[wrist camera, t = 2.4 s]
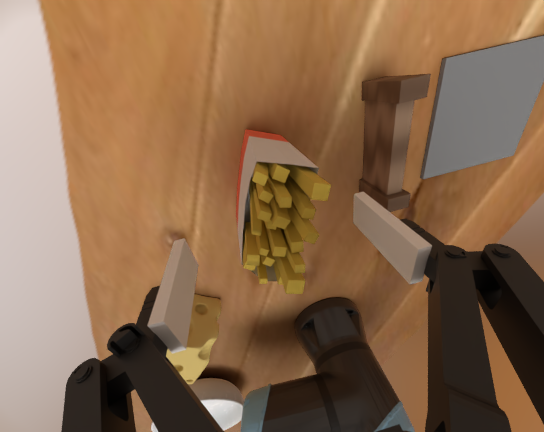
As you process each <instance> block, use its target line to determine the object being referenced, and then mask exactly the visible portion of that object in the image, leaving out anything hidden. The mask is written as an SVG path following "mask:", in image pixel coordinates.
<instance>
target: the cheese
mask: <svg viewBox="0 0 544 432" xmlns="http://www.w3.org/2000/svg"><path fill="white" fill-rule="evenodd" d="M220 313H221V302H220V299H217V298H212V297H205V296H201V295H197V294H194V299H193V306H192V313H191V320H190V327H189V334H188V341H187V348H186V350H183V351H180V352H176V353H173V354H172V353H171V352H170V350H169V349H167V354H166V357H167V358H168V359H169V360H170V362H171V363H172V364H173V366H174V367H175V368H176V370H177V371H178V372H179V373H180V375H181V376H182V377H183V379H184V380H185V381H186V383H187V384H193V383H194V382H195V381H196V379H197V378H198V377H199V376H200V374H201V373H202V371H203V370H204V369H205V367H206V366H207V364H208V362H209V359H210V351H211V347H212V345H213V343H214V342H215V341H216V339H217V336H218V332H219V324H218V323H217V320H218V317H219V316H220Z"/></svg>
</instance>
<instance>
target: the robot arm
mask: <svg viewBox="0 0 544 432" xmlns="http://www.w3.org/2000/svg"><path fill="white" fill-rule="evenodd" d="M353 223H354V224H355V225H356V226H357V228H358V229H359V230H360V231H361V232H362V233H363V234H364V235H365V236H366V237H367V238H368V239H369V241H370V242H371V243H372V244H373V245H374V246H375V247H376V248H377V249H378V250H379V251H380V253H381V254H382V255H383V256H384V257H385V258H386V259H387V260H388V261H389V262H390V263H391V265H392V266H393V267H394V268H395V269H396V270H397V271H398V272H399V273H400V274H401V275H402V277H403V278H404V279H405V280H406V281H407V282H408V283H409V284H414V283H417V282H420V281H422V280H423V276H424V274H425V275H426V276H427V277H428V278H429V282H428V285H427V288H426V291H427V292H428V413H427V419H426V427H425V432H511V428H510V424H509V420H508V418H507V416H506V414H505V412H504V411H503V410H501V409H500V408H499V406H498V404H497V400H496V395H495V389H494V384H493V379H492V373H491V368H490V363H489V358H488V352H487V347H486V342H485V336H484V330H483V325H482V320H481V315H480V309H479V304H478V301H479V303H480V305H481V307H482V309H483V311H484V313H485V315H486V317H487V318H488V320H489V322H490V324H491V326H492V328H493V329H494V332H495V333H496V335H497V337H498V339H499V341H500V343H501V344H502V347H503V348H504V350H505V352H506V354H507V356H508V358H509V360H510V362H511V363H512V365H513V367H514V369H515V371H516V373H517V375H518V377H519V379H520V380H521V382H522V384H523V386H524V388H525V390H526V392H527V394H528V395H529V397H530V399H531V401H532V403H533V405H534V407H535V409H536V411H537V412H538V414H539V416H540V418H541V420H542V422H543V424H544V282H543V281H542V279H541V278H540V277H539V276H538V275H537V274H536V272H535V271H534V270H533V269H532V268H531V267H530V266H529V265H528V263H527V262H526V261H525V260H524V259H523V257H522V256H521V255H520V254H519V253H518V252H517V251H516V250H514V249H512V248H510V247H508V246H505V245H501V244H488V245H486V246H485V248H484V250H483V251H476V252H466V251H465V250H464V249H462V248H459V247H456V246H453V245H444V244H443V243H442V242H440V241H439V240H438V239H436V238H435V237H433V236H432V235H431V234H429V233H428V232H427V231H425V230H424V229H423V228H420V226H419V225H417V224H416V223H414V222H413V221H410V220H408V219H401V220H399V219H398V218H396V217H395V216H394V215H393V214H391V213H390V212H389V211H388V210H386V209H385V208H384V207H382V206H381V205H380V204H379V203H377V202H376V201H375V200H373V199H372V198H371V197H370V196H368V195H367V194H366V193H365V192H360V193H356V194H354V212H353ZM197 271H198V263H197V261H196V259H195V257H194V255H193V253H192V251H191V250H190V248H189V246H188V244H187V242H186V240H185V238H184V239H180V240H176V241H174V244H173V247H172V250H171V253H170V256H169V259H168V262H167V266H166V269H165V272H164V275H163V278H162V281H161V285H160V286H157V287H154V288H152V289H151V290H150V292H149V293H148V294H147V296H146V299H145V301H144V305H143V307H142V309H141V310H142V311H141V312H140V315H139V318H138V320H137V323H136V324H134V323H128V324H126V325H123V326H122V327H120V328H119V329H117V330H116V331H115V332H114V333H113V334H112V336H111V337H110V339H109V341H108V344H107V347H108V350H109V351H111V352H112V353H113V355H111V356H109V357H108V358H106V359H104V360H102V361H100V360H98V359H96V358H92V359H88V360H87V361H85V362H83V363H82V364H80V365H79V366H78V367H77V368H76V369H75V370H74V371H73V372H72V374H71V375H70V377H69V379H68V381H67V384H66V392H65V403H64V412H63V423H62V432H136V429H135V421H134V414H133V406H132V399H131V391H133V390H134V389H135V390H136V391H137V393H138V395H139V397H140V399H141V401H142V402H143V404H144V406H145V408H146V410H147V412H148V413H149V415H150V417H151V419H152V421H153V423H154V424H155V426H156V428H157V430H158V432H224V431H223V430H222V428H221V427H220V426H219V424H218V423H217V422H216V420H215V419H214V418H213V417H212V415H211V414H210V413H209V411H208V410H207V409H206V407H205V406H204V405H203V403H202V402H201V401H200V400H199V398H198V397H197V396H196V394H195V393H194V392H193V390H192V389H191V388H190V386H189V385H188V384H187V383H186V381H185V380H184V379H183V377H182V376H181V375H180V373H179V372H178V371H177V370H176V368H175V367H174V366H173V364H172V363H171V362H170V360H169V359H168V358H167V357H166V354H167V349H169V350H170V352H171V353H172V354H173V353H176V352H180V351H183V350H186V348H187V341H188V334H189V327H190V320H191V313H192V306H193V299H194V292H195V285H196V278H197ZM294 328H295V332H296V336H297V339H298V341H299V343H300V344H301V346H302V347H303V349H304V350H305V352H306V353H307V355H308V356H309V358H310V359H311V361H312V362H313V364H314V367H315V370H316V373H317V374H315V375H311V376H307V377H303V378H299V379H295V380H290V381H286V382H282V383H278V384H274V385H271V384H269V385H268V386H266V387H262V388H259V389H256V390H253V391H251V392H250V393H249V394H248V395H247V396H246V398H245V400H244V404H243V410H242V420H241V432H415V431H414V428H413V426H412V424H411V422H410V420H409V418H408V416H407V414H406V412H405V410H404V408H403V404H402V402H401V401H400V400H399V398H398V397H397V395H396V393H395V391H394V389H393V388H392V386H391V384H390V382H389V381H388V379H387V377H386V375H385V374H384V372H383V370H382V368H381V366H380V365H379V363H378V361H377V359H376V358H375V356H374V354H373V352H372V351H371V349H370V347H369V345H368V343H367V340H366V336H365V331H364V327H363V323H362V318H361V315H360V313H359V311H358V309H357V307H356V306H355V304H354V303H353V302H352V301H350V300H348V299H344V298H330V299H326V300H322V301H319V302H317V303H315V304H313V305H311V306H309V307H308V308H306V309H305V310H304V311H303V312H302V313H301V314H300V315H299V316H298V318H297V319H296V322H295V326H294Z"/></svg>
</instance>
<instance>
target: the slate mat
mask: <svg viewBox="0 0 544 432" xmlns="http://www.w3.org/2000/svg"><path fill="white" fill-rule="evenodd" d="M543 81H544V35H543V36H539V37H534V38H530V39H526V40H521V41H517V42H513V43H509V44H504V45H500V46H496V47H491V48H487V49H483V50H478V51H474V52H470V53H465V54H461V55H457V56H452V57H448V58H444V59H442V64H441V69H440V75H439V80H438V85H437V91H436V96H435V101H434V107H433V112H432V118H431V123H430V128H429V134H428V139H427V144H426V150H425V155H424V161H423V166H422V171H421V177H420V178H421V179H426V178H430V177H434V176H437V175H441V174H445V173H449V172H452V171H456V170H460V169H464V168H468V167H471V166H475V165H479V164H483V163H487V162H490V161H494V160H498V159H502V158H505V157H509V156H513V155H514V153H515V150H516V148H517V145H518V143H519V140H520V138H521V135H522V133H523V131H524V128H525V126H526V123H527V121H528V118H529V116H530V113H531V111H532V108H533V106H534V104H535V101H536V99H537V96H538V94H539V91H540V89H541V86H542V84H543Z"/></svg>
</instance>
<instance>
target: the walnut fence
mask: <svg viewBox="0 0 544 432" xmlns="http://www.w3.org/2000/svg"><path fill="white" fill-rule="evenodd" d="M430 75H431V74H420V75H405V76H389V77H382V78H378V79H373V80H369V81H365V82H362V100H364V101H365V128H364V156H363V179H360V185H359V191H360V192H365V193H366V194H367V195H368V196H370V197H371V198H372V199H373V200H375V201H376V202H377V203H379V204H380V205H381V206H382V207H384V208H385V209H386V210H388V211H389V212H392V211H395V210H399V209H403V208H407V207H408V206H409V200H410V193H409V192H407V191H405V190H403V189H402V185H403V178H404V171H405V164H406V156H407V149H408V142H409V135H410V128H411V121H412V114H413V107H414V100H417V99H421V98H425V97H427V93H428V87H429V81H430Z"/></svg>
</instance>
